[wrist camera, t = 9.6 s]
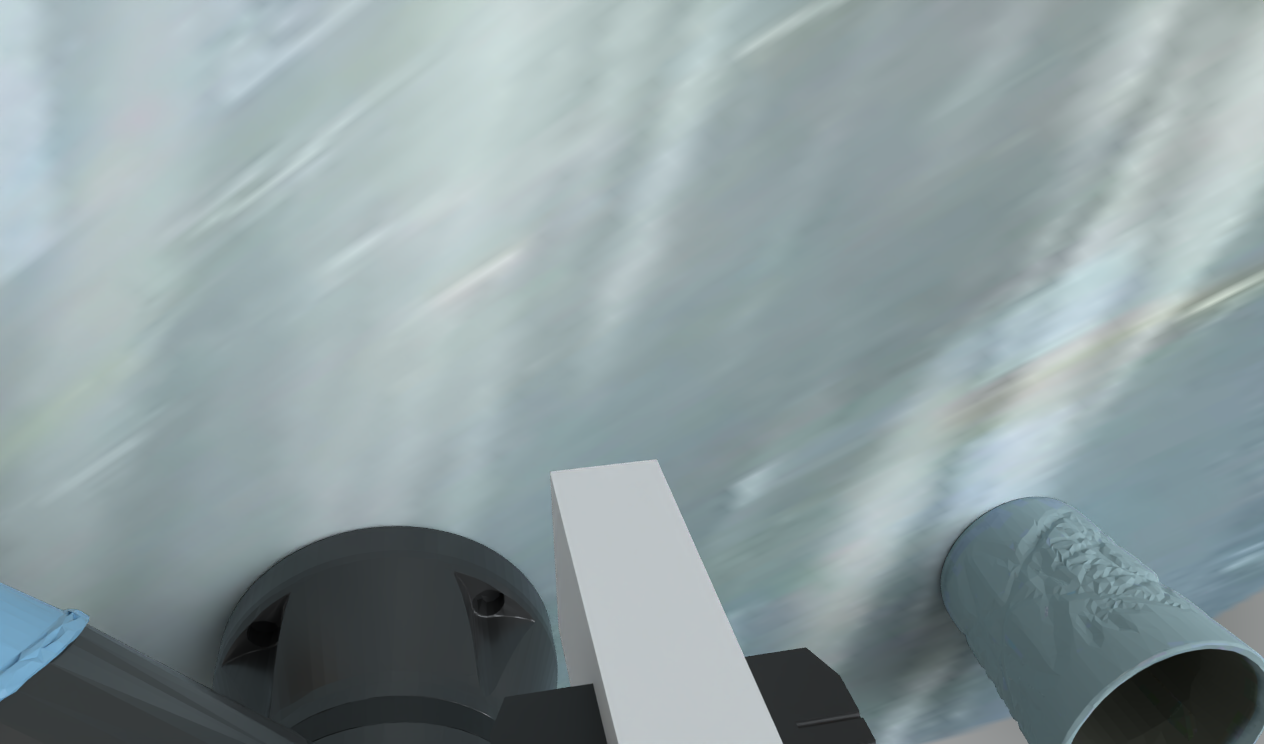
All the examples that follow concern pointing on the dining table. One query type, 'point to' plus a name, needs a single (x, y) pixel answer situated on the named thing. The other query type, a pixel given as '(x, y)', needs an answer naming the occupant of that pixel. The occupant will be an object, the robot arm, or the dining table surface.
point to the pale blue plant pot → (1094, 636)
